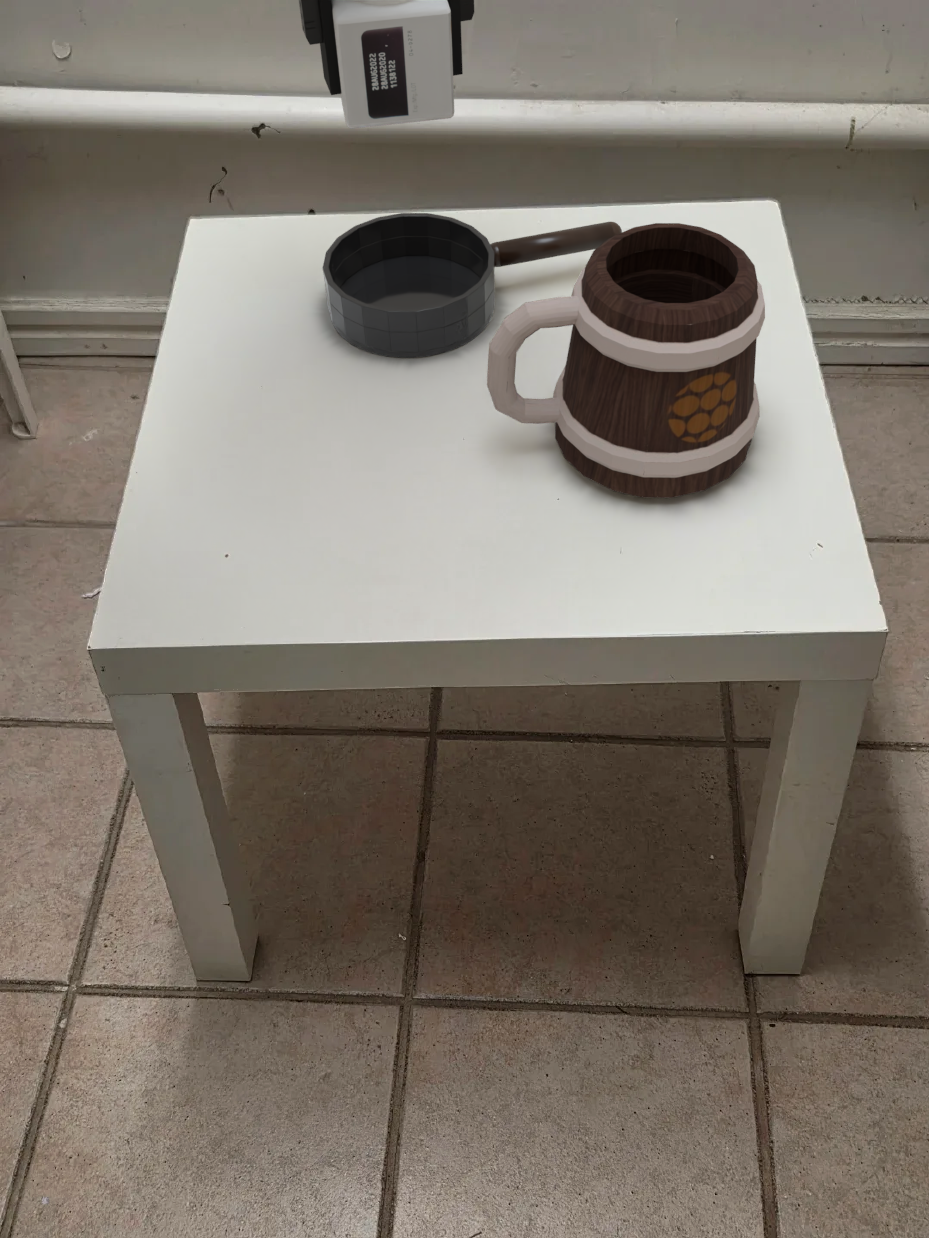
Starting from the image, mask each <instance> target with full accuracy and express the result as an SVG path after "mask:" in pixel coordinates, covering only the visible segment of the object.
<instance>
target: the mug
mask: <svg viewBox="0 0 929 1238" xmlns="http://www.w3.org/2000/svg"><path fill="white" fill-rule="evenodd" d="M749 257H750V256H748V254H746V252H745V250H743V249H742V248H741V247H739V246H738V245H737V244H735V243H734V242H732V241H731V240H730V239H728V238H726V237H725V236H723V235H722V234H720V233H717V232H715V231H712V230H709V229H707V228H704V227H701V226H697V225H692V224H685V223H680V222H664V223H663V222H656V223H650V224H644V225H640V226H634V227H632V228H629V229H626V230H624V231H622V233H620V234H617V235H615V236H613V237H611V238H609V239H608V240H607V241H605V242H604V243H603V244H602V245H600V246H599V247H598V248H597V249H594V250H592V253H591V255H590V257H589V258H588V260H587V263H586V264H585V267H583V268H582V269H581V271H580V273H579V275H578V276H577V279H576V281H575V283H574V284H573V288H572V292H571V296H557V297H550V298H545V299H538V300H531V301H526V302H524V303H523V304H522V305H520V306H519V307H518V308H517V309H515V310H514V311H512V312H511V313H510V314H508V315H507V316H506V317H505V318H504V319H503V320H502V322H501V324H500V326H499V327H498V328H497V330H496V332H495V333H494V335H493V337H492V338H491V340H490V342H489V343H488V354H487V356H488V357H487V371H486V372H487V374H486V387H487V389H488V392H489V396H490V398H491V401H492V403H493V406H494V409H495V410H496V411H497V412H499V413H501V414H503V415H505V416H507V417H508V418H511V419H513V420H515V421H517V422H519V423H521V424H535V425H536V424H537V425H538V424H540V425H541V424H551V423H554V432H555V433H554V439H555V441H556V443H557V445H558V447H559V449H560V451H561V454H562V456H563V458H564V459H565V460H566V461H567V462H568V463H569V464H570V465H571V466H572V467H573V468H574V469H575V470H576V471H578V472H579V473H580V475H582V476H583V477H584V478H587V479H589V480H590V481H593V482H594V483H596V484H598V485H600V486H602V487H604V488H606V489H609V490H611V491H613V492H616V493H620V494H624V495H629V496H634V497H638V498H642V499H644V498H645V499H646V498H647V499H656V498H657V499H673V498H677V497H682V496H686V495H690V494H695V493H700V492H704V491H706V490H708V489H710V488H712V487H714V486H716V485H718V484H720V483H721V482H723V481H725V480H727V479H729V478H730V477H731V476H732V475H733V474H734V473H735V472H736V471H737V470H738V468H740V466H741V465H742V464H743V463H744V462H745V461H746V459H747V456H748V453H749V450H750V447H751V444H752V442H753V437H754V435H755V431H756V430H757V425H758V423H759V421H760V420H759V419H760V417H761V415H760V414H761V413H760V401H759V396H758V391H757V384H756V383H755V373H756V354H757V353H756V352H757V339H758V337H759V336H760V333H761V330H762V328H763V325H764V322H765V320H766V303H765V297H764V291H763V285H762V284H761V283H760V282H759V281H758V277H757V276H758V275H757V271H756V266H755V264H754V263H753V261H752V260H751V258H749ZM569 326H572V329H571V334H570V339H569V345H568V350H567V355H566V360H565V361H566V362H565V365H564V367H563V369H562V370H561V374H560V375H559V377H558V378H557V381H556V383H555V386H554V389H553V394H552V395H553V396H552V397H547V398H528V397H525V398H524V397H523V396H521V394H519V393H518V391H517V386H516V384H515V383H516V382H515V381H516V380H515V379H516V368H517V367H516V366H517V352H518V351H519V349H520V348H521V346H522V345H523V344H524V342H525V341H526V340H527V339H528V338H529V337H531V336H532V335H534V333H536V332H538V331H539V330H540V329H550V328H560V327H569Z"/></svg>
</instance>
